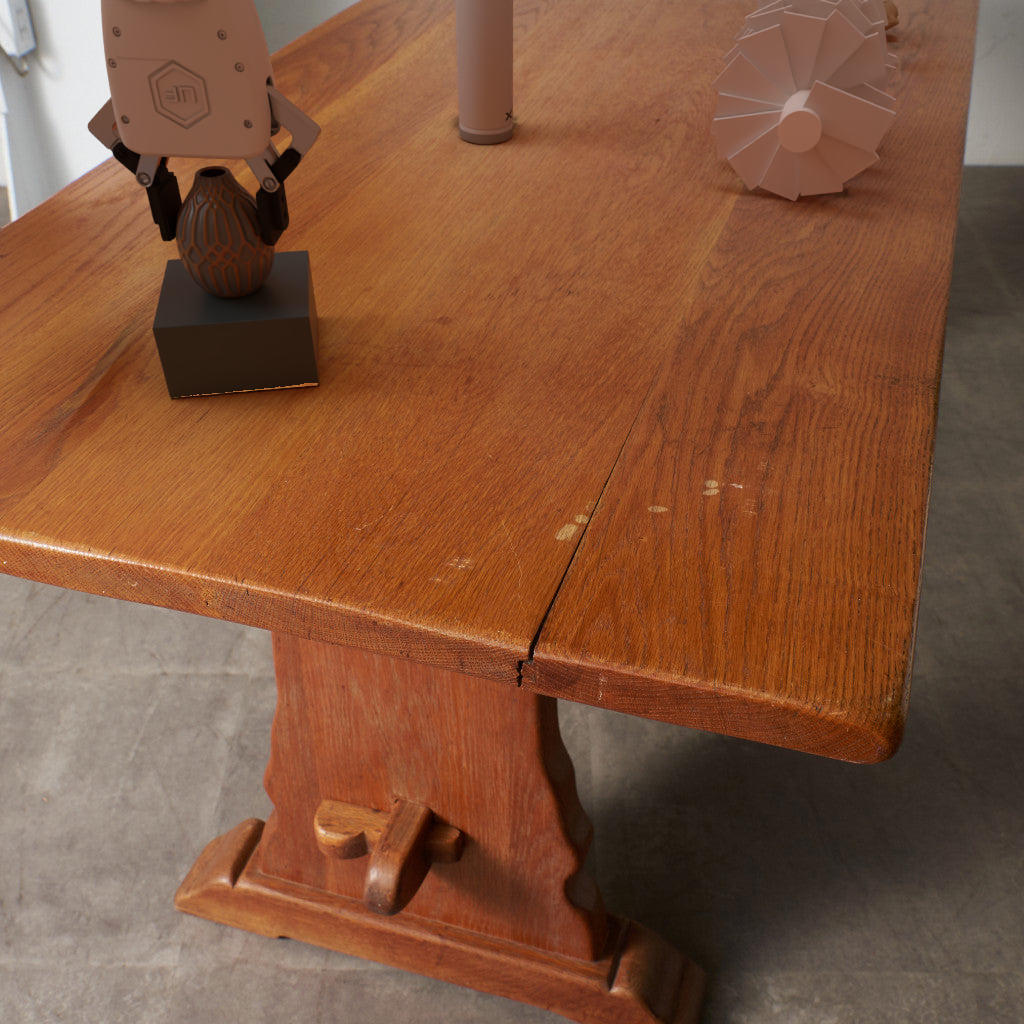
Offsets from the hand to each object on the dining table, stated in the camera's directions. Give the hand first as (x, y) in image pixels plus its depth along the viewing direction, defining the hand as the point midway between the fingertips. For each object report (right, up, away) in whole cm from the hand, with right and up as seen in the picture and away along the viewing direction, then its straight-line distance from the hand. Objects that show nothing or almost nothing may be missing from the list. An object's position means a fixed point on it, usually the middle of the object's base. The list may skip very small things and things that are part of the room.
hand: (224, 233), depth 73 cm
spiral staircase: (+52, +18, +37) cm, 66 cm away
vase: (0, -3, +3) cm, 4 cm away
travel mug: (+18, +24, +45) cm, 54 cm away
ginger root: (+68, +51, +72) cm, 111 cm away
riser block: (0, -8, +7) cm, 10 cm away
